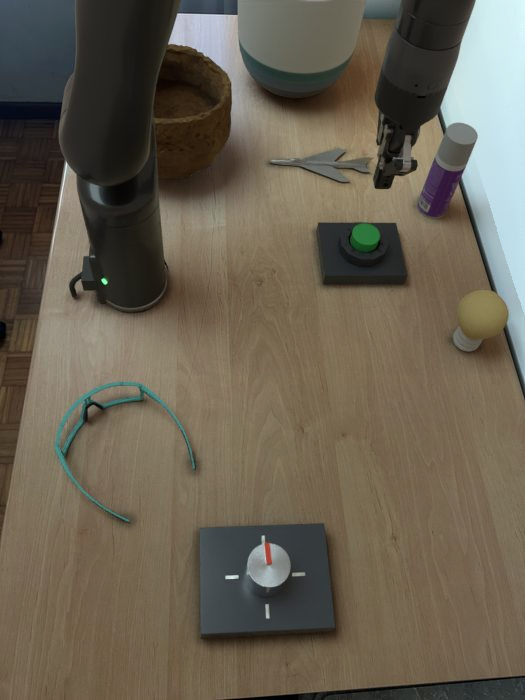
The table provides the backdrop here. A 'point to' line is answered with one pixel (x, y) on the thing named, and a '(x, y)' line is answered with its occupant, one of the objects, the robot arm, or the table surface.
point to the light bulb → (479, 319)
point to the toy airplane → (327, 163)
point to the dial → (267, 569)
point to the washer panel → (250, 609)
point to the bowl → (190, 112)
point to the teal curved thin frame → (90, 402)
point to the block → (359, 256)
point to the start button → (365, 238)
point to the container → (446, 170)
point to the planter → (298, 42)
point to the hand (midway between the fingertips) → (381, 185)
